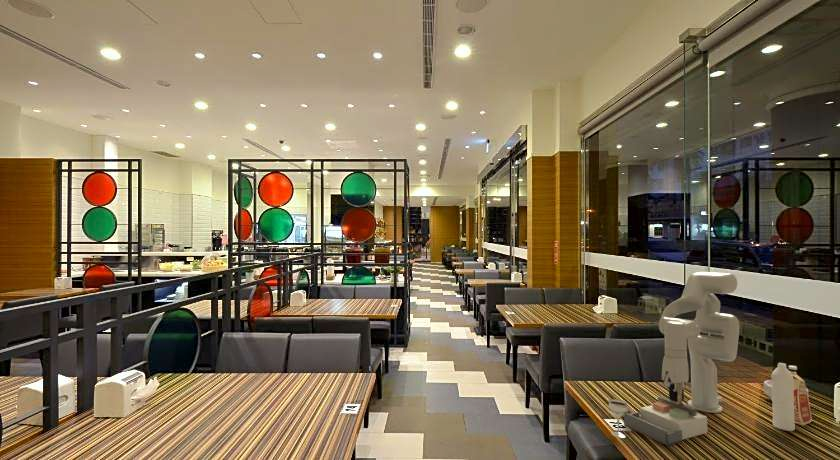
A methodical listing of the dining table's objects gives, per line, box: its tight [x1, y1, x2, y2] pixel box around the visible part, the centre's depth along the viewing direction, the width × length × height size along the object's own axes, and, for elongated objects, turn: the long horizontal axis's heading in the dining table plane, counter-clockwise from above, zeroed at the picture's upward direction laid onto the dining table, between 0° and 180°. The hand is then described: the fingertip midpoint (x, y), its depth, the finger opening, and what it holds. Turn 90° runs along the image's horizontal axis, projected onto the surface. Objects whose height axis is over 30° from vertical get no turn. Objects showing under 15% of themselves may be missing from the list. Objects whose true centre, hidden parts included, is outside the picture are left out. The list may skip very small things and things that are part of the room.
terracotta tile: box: [652, 401, 671, 412], centre depth 164 cm, size 4×4×2 cm
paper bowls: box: [763, 379, 810, 401], centre depth 187 cm, size 15×15×8 cm
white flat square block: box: [639, 404, 708, 441], centre depth 161 cm, size 16×16×6 cm
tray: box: [623, 411, 683, 447], centre depth 156 cm, size 8×18×5 cm, turn 23°
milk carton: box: [789, 370, 813, 426], centre depth 170 cm, size 9×9×20 cm
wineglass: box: [607, 398, 629, 439], centre depth 155 cm, size 7×7×12 cm
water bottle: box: [771, 362, 798, 432], centre depth 161 cm, size 9×6×25 cm
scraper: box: [657, 383, 698, 417], centre depth 162 cm, size 3×14×10 cm, turn 24°
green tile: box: [669, 408, 689, 419], centre depth 157 cm, size 4×4×2 cm
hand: (676, 399), depth 162 cm, fingers closed on scraper, 2 cm apart
